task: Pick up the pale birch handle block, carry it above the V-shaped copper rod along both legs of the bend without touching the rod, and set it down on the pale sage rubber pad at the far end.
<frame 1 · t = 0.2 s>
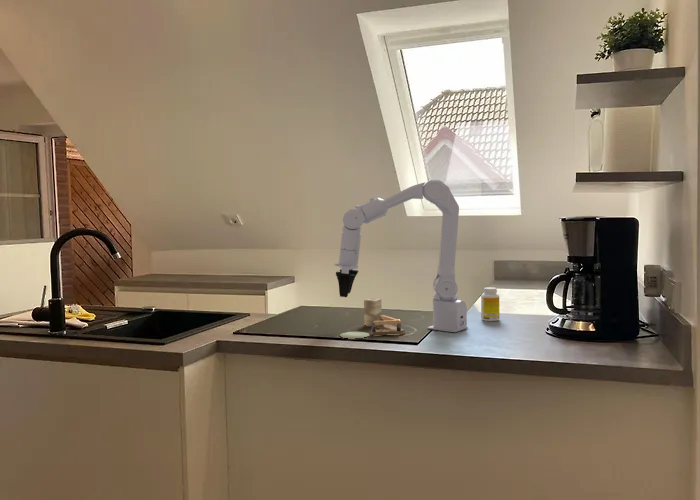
hand: (345, 294, 175), 10 cm above the worktop, tool pointing down, fingers open, 7 cm apart
copper rod course: (398, 334, 167), on the worktop
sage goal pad: (354, 335, 166), on the worktop
supplement bottle: (490, 320, 185), on the worktop
birch handle block: (373, 325, 181), on the worktop
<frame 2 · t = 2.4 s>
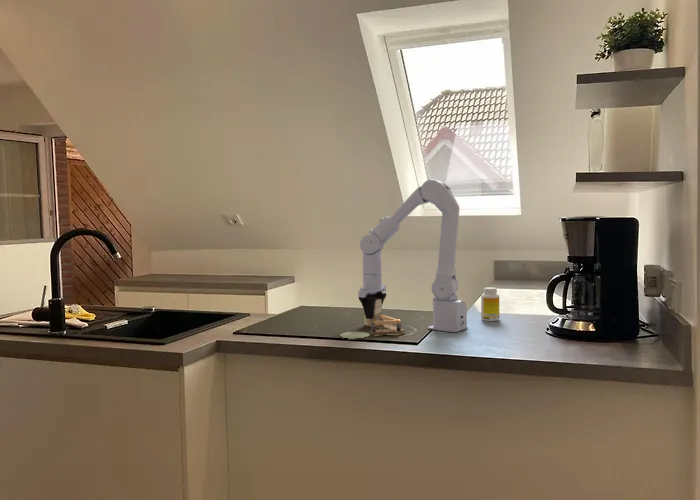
hand: (373, 317, 181), 2 cm above the worktop, tool pointing down, fingers closed on birch handle block, 4 cm apart
birch handle block: (373, 325, 181), on the worktop, touching gripper
everything else where it was.
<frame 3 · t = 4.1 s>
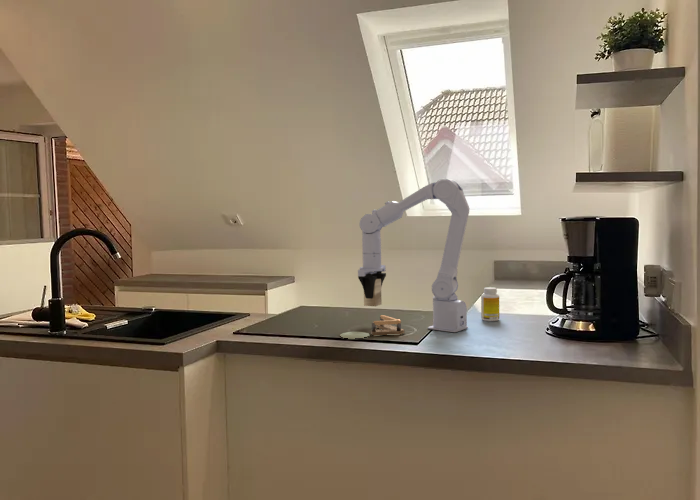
hand: (372, 297, 180), 9 cm above the worktop, tool pointing down, fingers closed on birch handle block, 4 cm apart
birch handle block: (372, 305, 181), point 6 cm above the worktop, touching gripper
everything else where it was.
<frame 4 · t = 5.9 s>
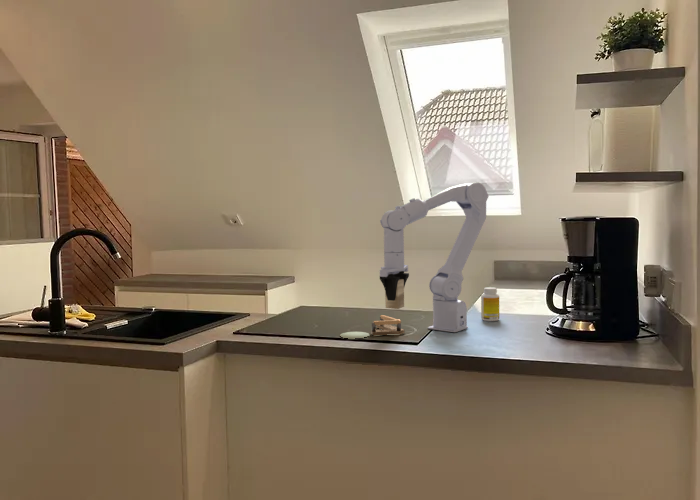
hand: (394, 299, 169), 10 cm above the worktop, tool pointing down, fingers closed on birch handle block, 4 cm apart
birch handle block: (394, 307, 169), point 7 cm above the worktop, touching gripper
everything else where it was.
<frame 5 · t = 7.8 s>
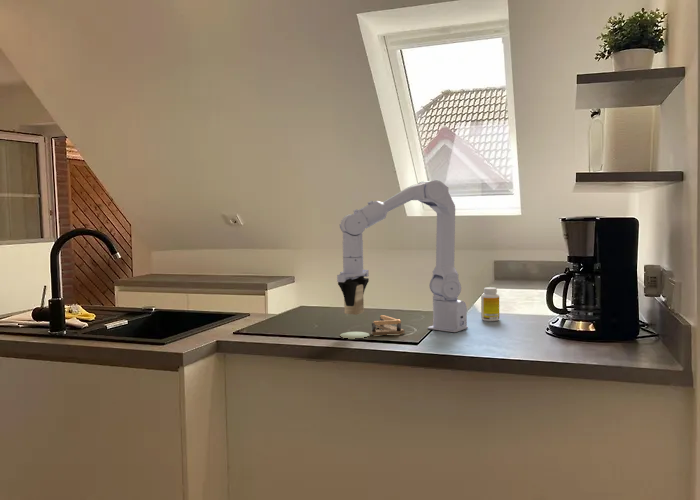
hand: (354, 304, 166), 9 cm above the worktop, tool pointing down, fingers closed on birch handle block, 4 cm apart
birch handle block: (354, 312, 166), point 7 cm above the worktop, touching gripper
everything else where it was.
when the fingers open (4 cm above the worktop, at t = 9.4 s): birch handle block drops 1 cm, resting on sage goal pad.
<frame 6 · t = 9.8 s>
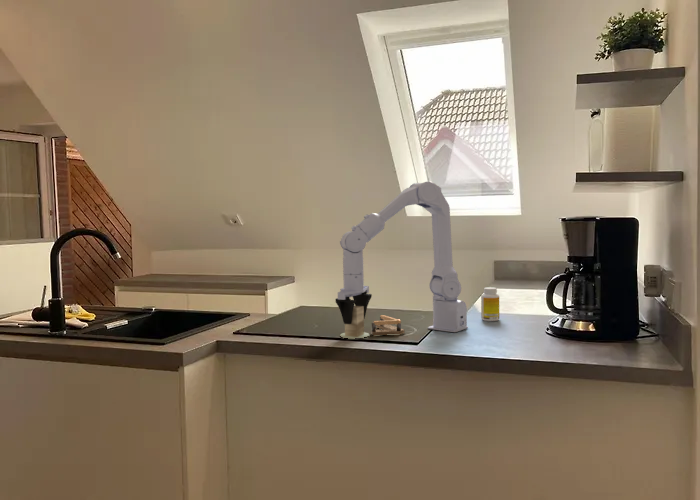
hand: (354, 321, 166), 4 cm above the worktop, tool pointing down, fingers open, 7 cm apart
birch handle block: (354, 334, 166), resting on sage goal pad
everything else where it was.
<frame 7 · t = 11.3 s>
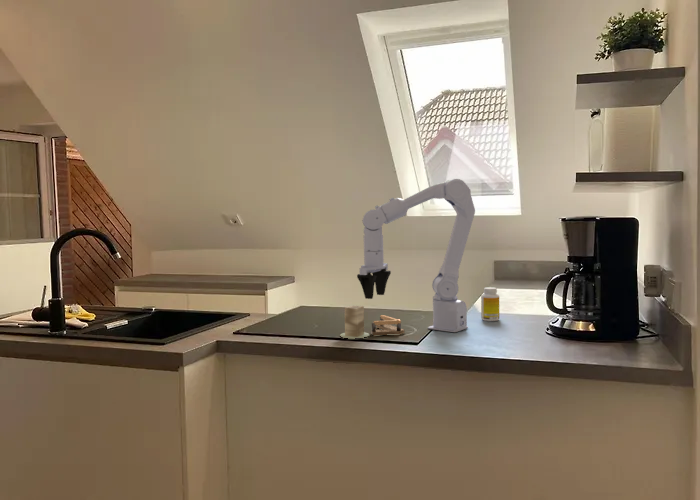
hand: (374, 296, 173), 10 cm above the worktop, tool pointing down, fingers open, 7 cm apart
nothing on the worktop moved.
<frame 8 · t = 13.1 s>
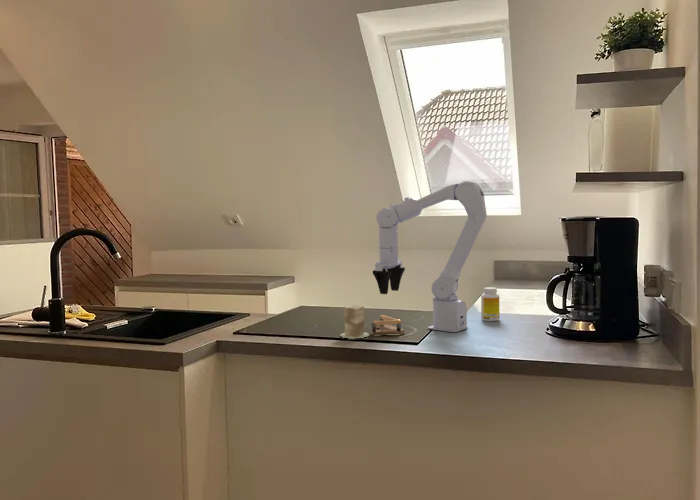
hand: (389, 292, 179), 10 cm above the worktop, tool pointing down, fingers open, 7 cm apart
nothing on the worktop moved.
at the end: birch handle block 0.0 cm off-centre on the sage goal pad, point 0.3 cm above the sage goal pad's base; birch handle block tilted 0°; birch handle block touching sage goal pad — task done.
